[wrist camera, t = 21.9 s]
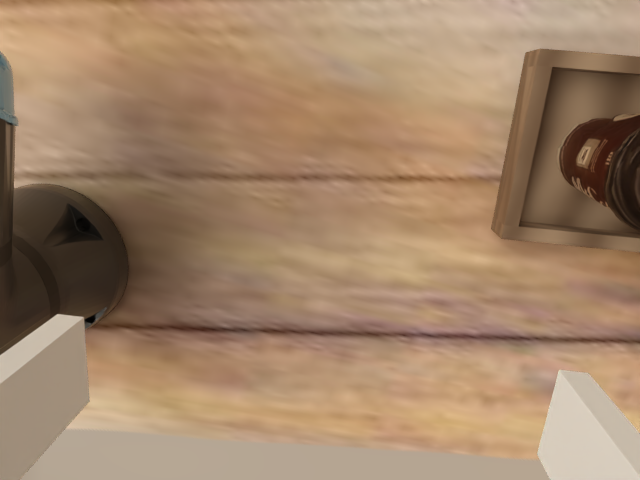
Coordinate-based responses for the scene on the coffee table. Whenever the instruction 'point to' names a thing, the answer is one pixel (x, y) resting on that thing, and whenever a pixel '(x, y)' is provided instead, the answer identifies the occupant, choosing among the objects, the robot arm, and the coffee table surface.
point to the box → (544, 140)
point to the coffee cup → (605, 163)
